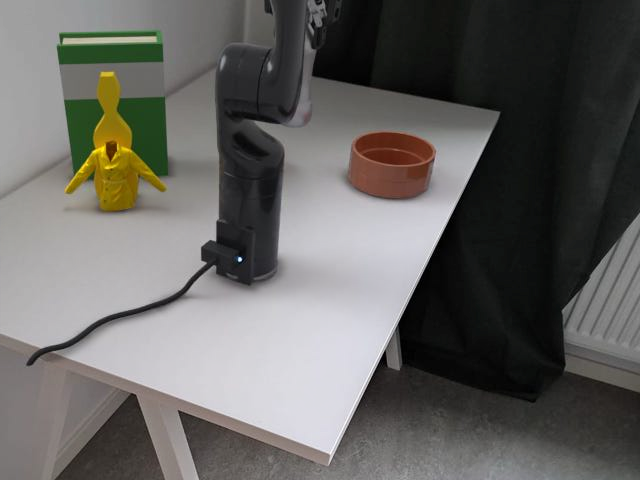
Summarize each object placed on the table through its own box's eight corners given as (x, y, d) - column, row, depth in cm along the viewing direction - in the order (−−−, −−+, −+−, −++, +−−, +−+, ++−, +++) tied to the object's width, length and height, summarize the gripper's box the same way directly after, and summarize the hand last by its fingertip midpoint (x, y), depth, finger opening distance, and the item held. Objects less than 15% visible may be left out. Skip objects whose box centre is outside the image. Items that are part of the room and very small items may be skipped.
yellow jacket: (65, 214, 125) (46, 87, 111) (70, 193, 131) (52, 70, 117) (168, 212, 126) (162, 86, 112) (168, 191, 132) (162, 68, 118)
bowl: (424, 205, 129) (432, 171, 125) (341, 192, 132) (345, 159, 128) (432, 169, 140) (439, 137, 136) (354, 158, 143) (359, 126, 139)
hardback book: (74, 179, 135) (56, 46, 120) (76, 161, 141) (59, 32, 125) (168, 175, 137) (162, 43, 121) (166, 158, 142) (160, 30, 127)
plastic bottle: (308, 133, 131) (319, 16, 118) (272, 130, 132) (279, 13, 119) (312, 119, 136) (324, 5, 123) (277, 116, 137) (284, 2, 124)
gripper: (255, -67, 114) (251, 43, 125) (337, -56, 108) (326, 58, 119) (278, -75, 119) (273, 32, 130) (358, -64, 113) (345, 46, 124)
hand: (298, 44), depth 124 cm, fingers closed on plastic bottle, 6 cm apart
